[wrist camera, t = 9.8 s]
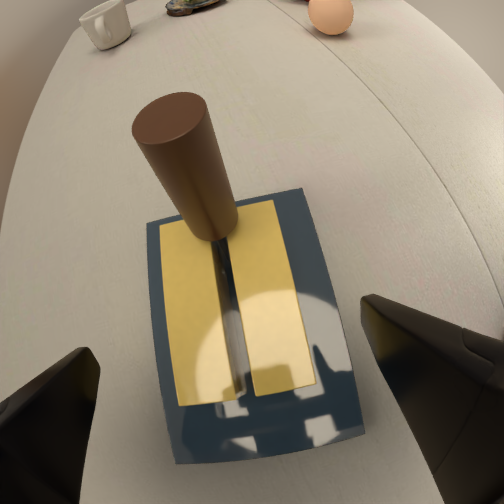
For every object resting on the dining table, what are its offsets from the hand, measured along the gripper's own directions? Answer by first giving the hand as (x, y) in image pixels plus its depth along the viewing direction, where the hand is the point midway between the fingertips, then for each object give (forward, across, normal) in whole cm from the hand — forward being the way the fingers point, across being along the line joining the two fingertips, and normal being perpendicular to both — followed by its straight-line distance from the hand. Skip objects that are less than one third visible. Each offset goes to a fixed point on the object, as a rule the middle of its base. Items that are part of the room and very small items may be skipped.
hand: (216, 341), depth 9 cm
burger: (+47, -1, -35) cm, 58 cm away
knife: (+10, 0, 0) cm, 10 cm away
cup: (+40, +14, -28) cm, 52 cm away
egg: (+31, -17, -18) cm, 40 cm away
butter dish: (+8, 0, +5) cm, 9 cm away
